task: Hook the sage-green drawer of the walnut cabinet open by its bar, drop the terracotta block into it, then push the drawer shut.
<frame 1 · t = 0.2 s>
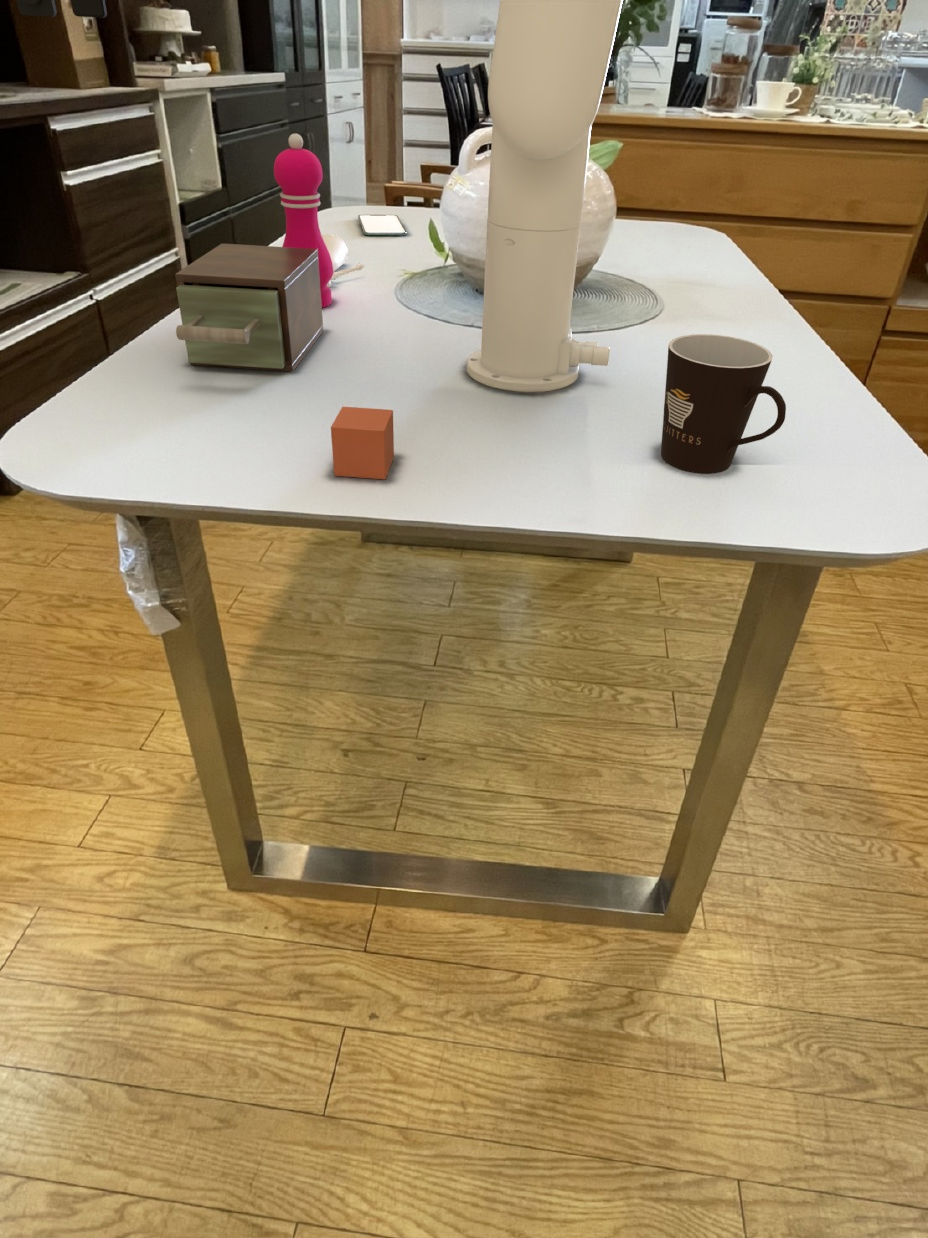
hand: (66, 16, 74), 31 cm above the table, tool pointing down, fingers open, 9 cm apart
drawer: (242, 318, 88), point 5 cm above the table, slide at 0.5 cm
cabinet: (260, 347, 95), on the table
pepper mill: (308, 304, 110), on the table
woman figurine: (326, 276, 122), on the table
smartphone: (381, 227, 151), on the table
coffee mug: (700, 467, 73), on the table
block: (364, 466, 70), on the table
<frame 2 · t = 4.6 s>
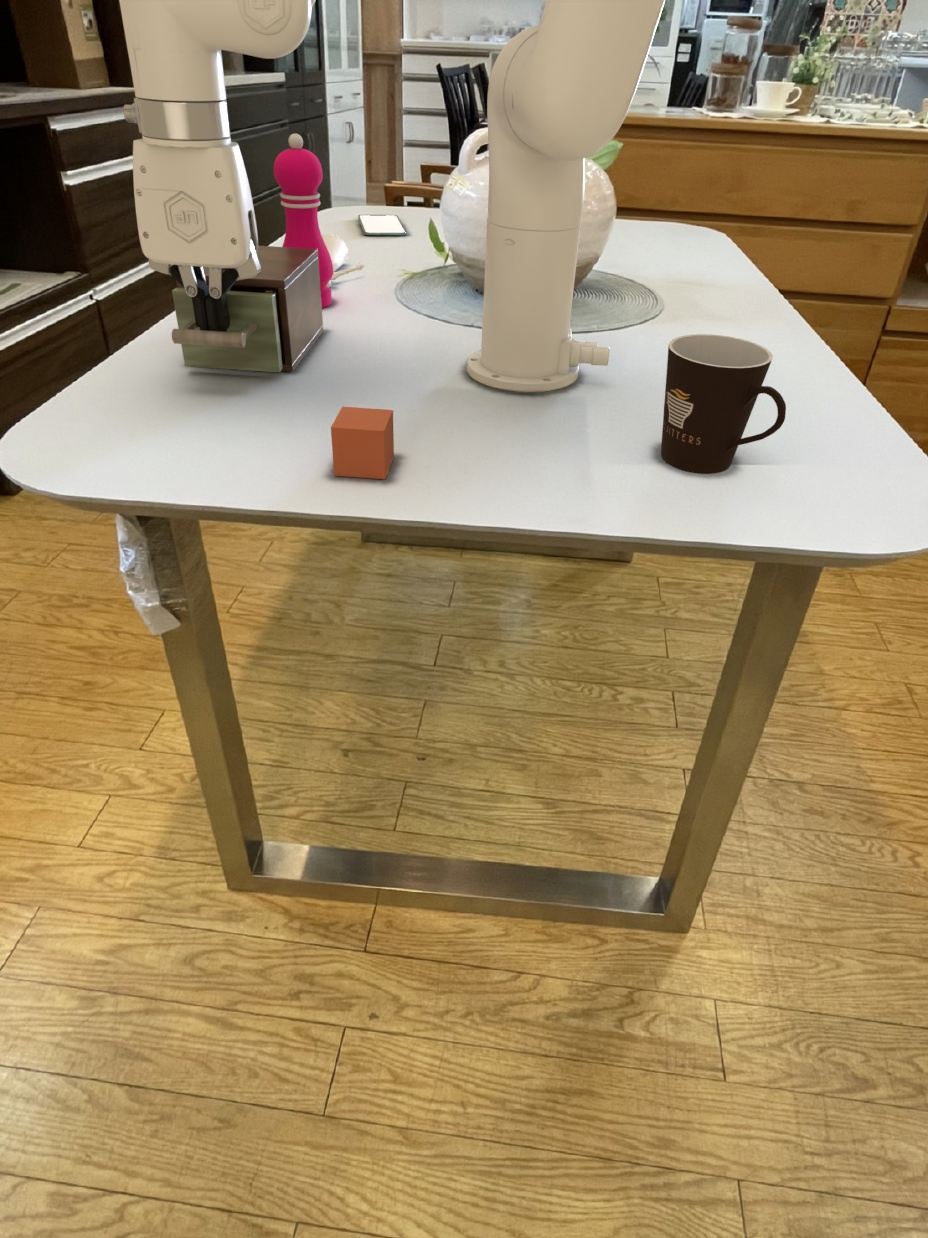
hand: (214, 334, 81), 5 cm above the table, tool pointing down, fingers closed
drawer: (238, 321, 87), point 5 cm above the table, slide at 1.6 cm
everything else where it was.
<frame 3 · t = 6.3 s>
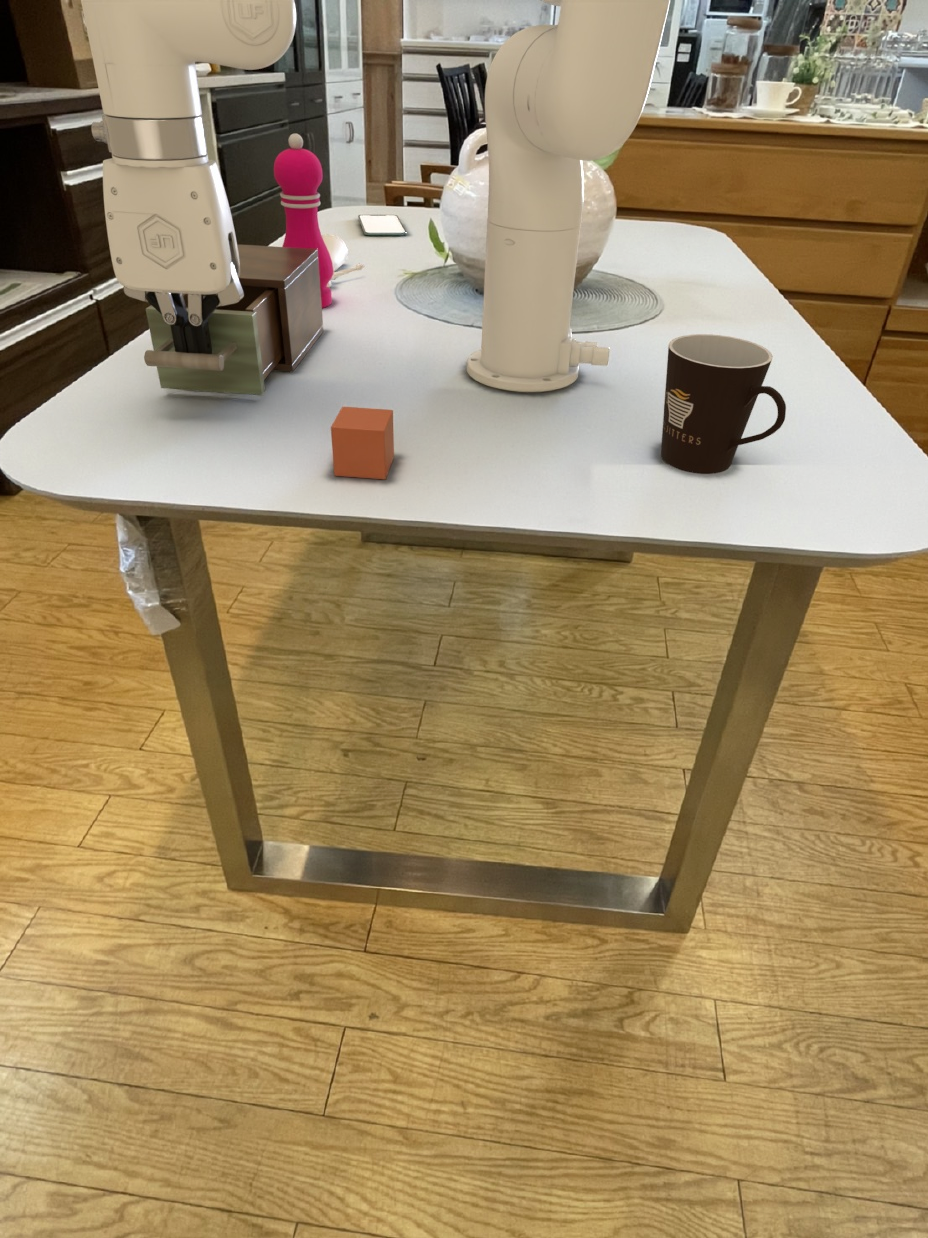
hand: (196, 363, 76), 5 cm above the table, tool pointing down, fingers closed
drawer: (218, 340, 82), point 5 cm above the table, slide at 8.2 cm
everything else where it was.
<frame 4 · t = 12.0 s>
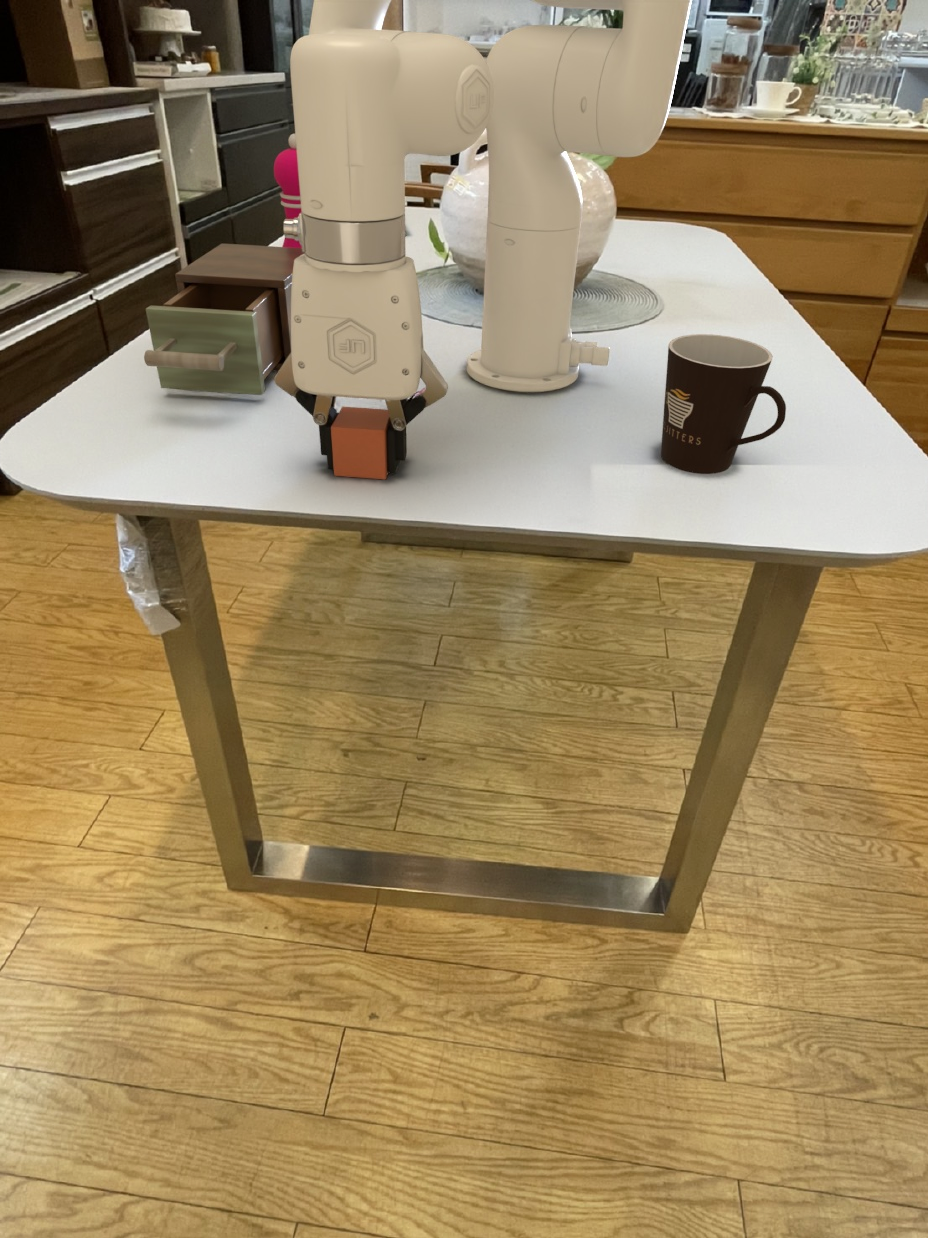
hand: (364, 462, 70), 0 cm above the table, tool pointing down, fingers closed on block, 4 cm apart
block: (364, 466, 70), on the table, touching gripper
everything else where it was.
when the fingers open (10 cm above the table, at t = 17.4 s): block drops 8 cm, resting on drawer.
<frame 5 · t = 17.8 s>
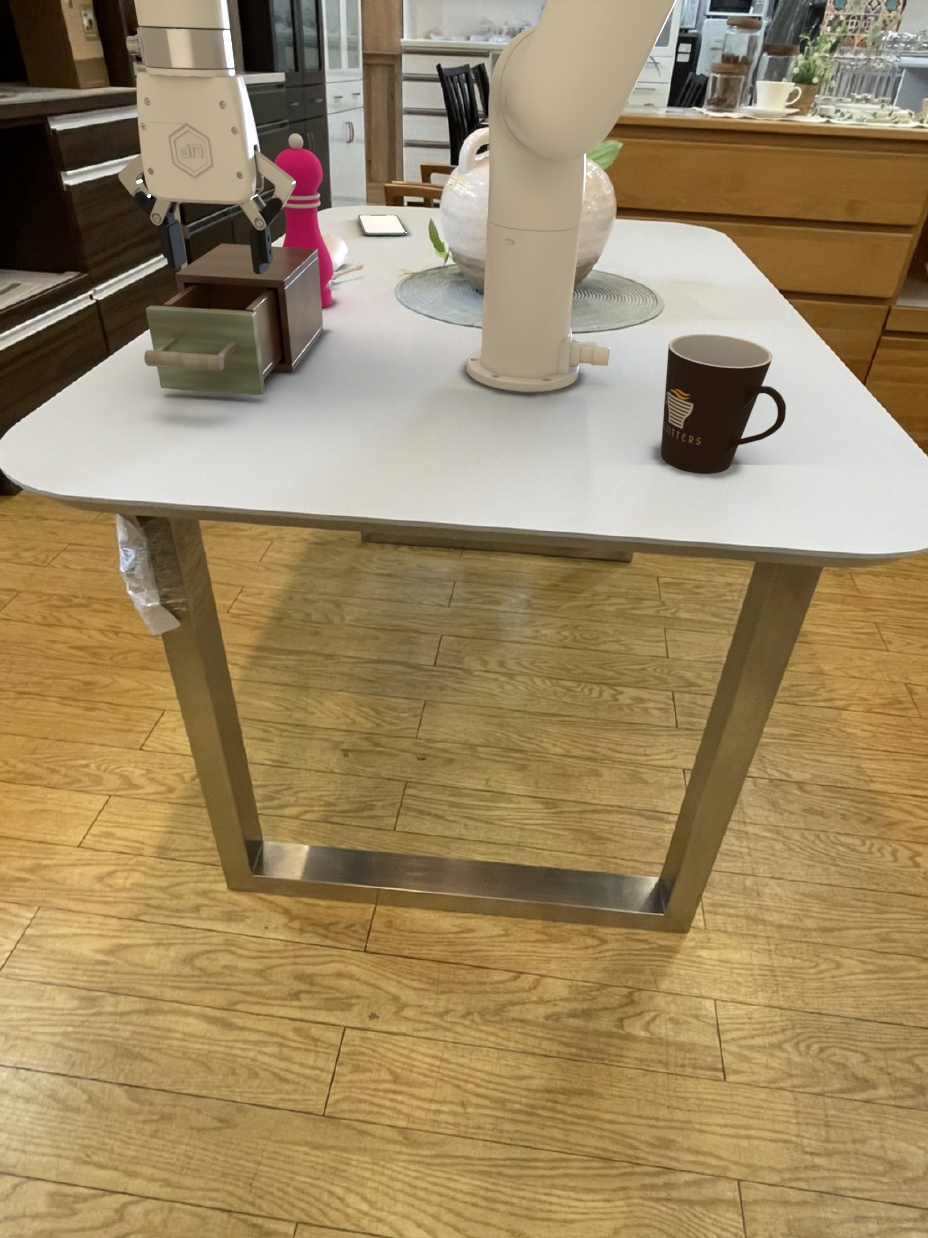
hand: (219, 267, 80), 11 cm above the table, tool pointing down, fingers open, 8 cm apart
drawer: (218, 340, 82), point 5 cm above the table, slide at 8.2 cm, touching block
block: (231, 358, 85), point 2 cm above the table, touching drawer
everything else where it was.
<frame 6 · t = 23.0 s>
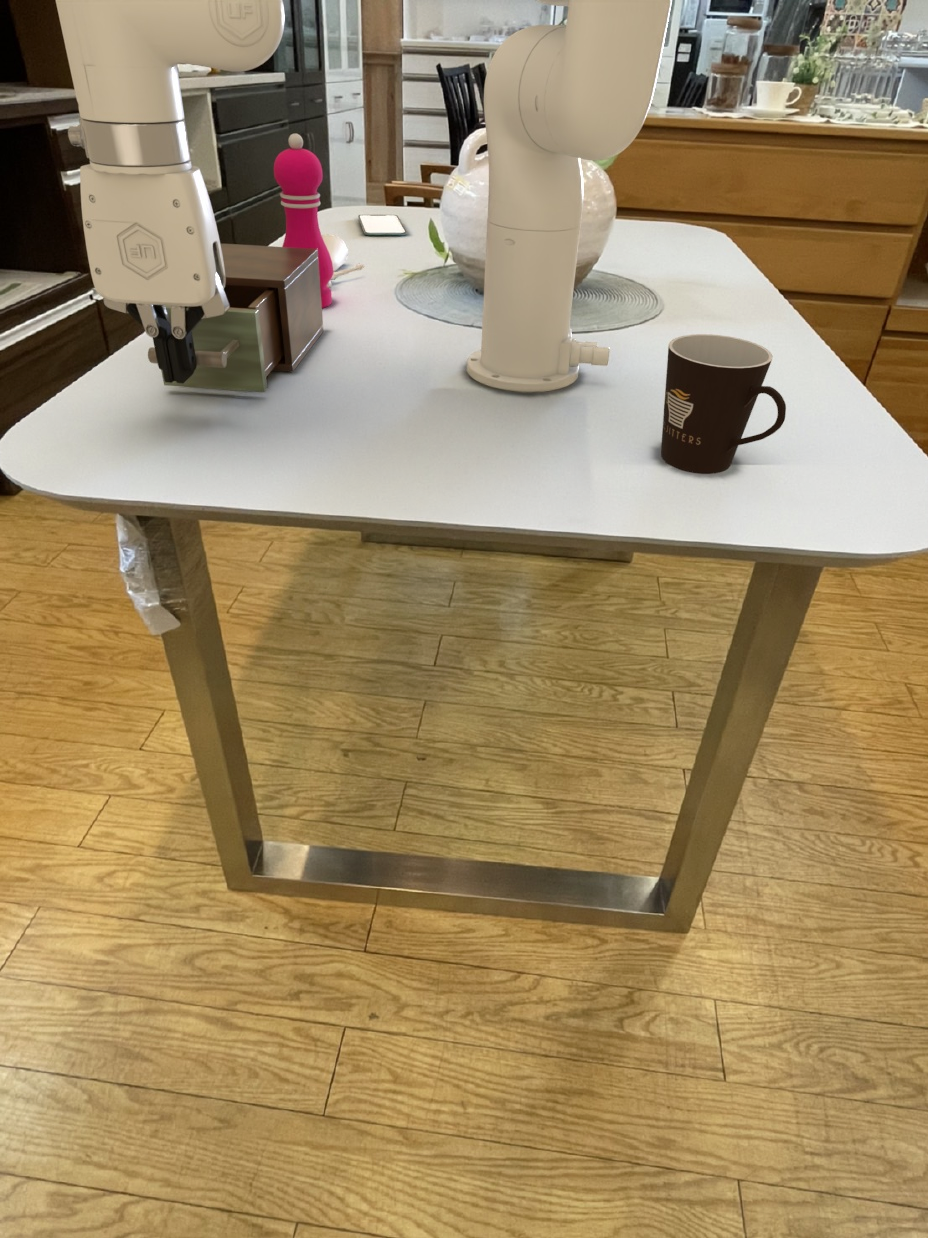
hand: (180, 377, 73), 5 cm above the table, tool pointing down, fingers closed
drawer: (221, 338, 82), point 5 cm above the table, slide at 7.4 cm, touching block, gripper
everything else where it was.
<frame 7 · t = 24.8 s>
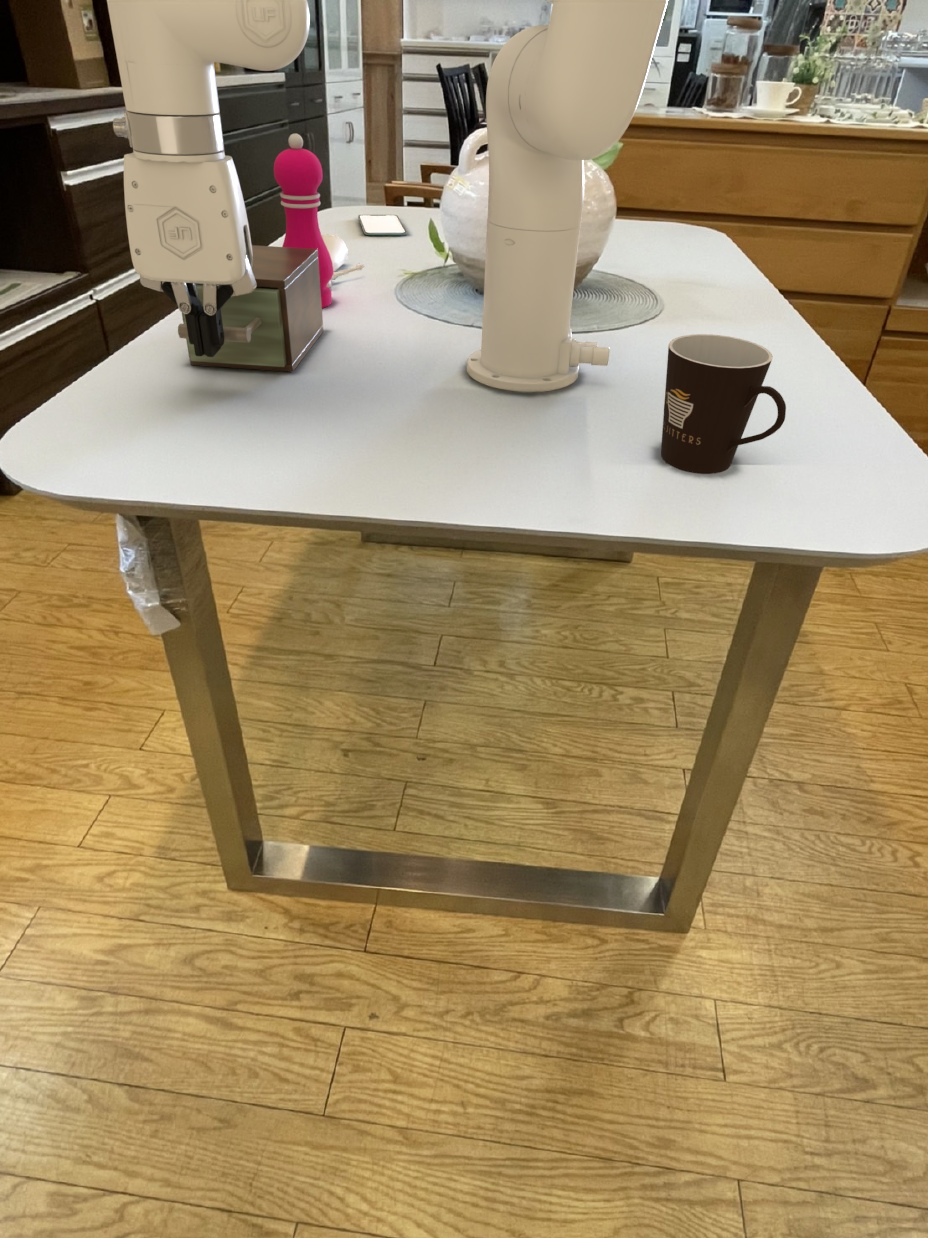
hand: (208, 351, 79), 5 cm above the table, tool pointing down, fingers closed
drawer: (243, 317, 88), point 5 cm above the table, slide at 0.0 cm, touching block, cabinet, gripper
block: (254, 335, 92), point 2 cm above the table, touching drawer
everything else where it was.
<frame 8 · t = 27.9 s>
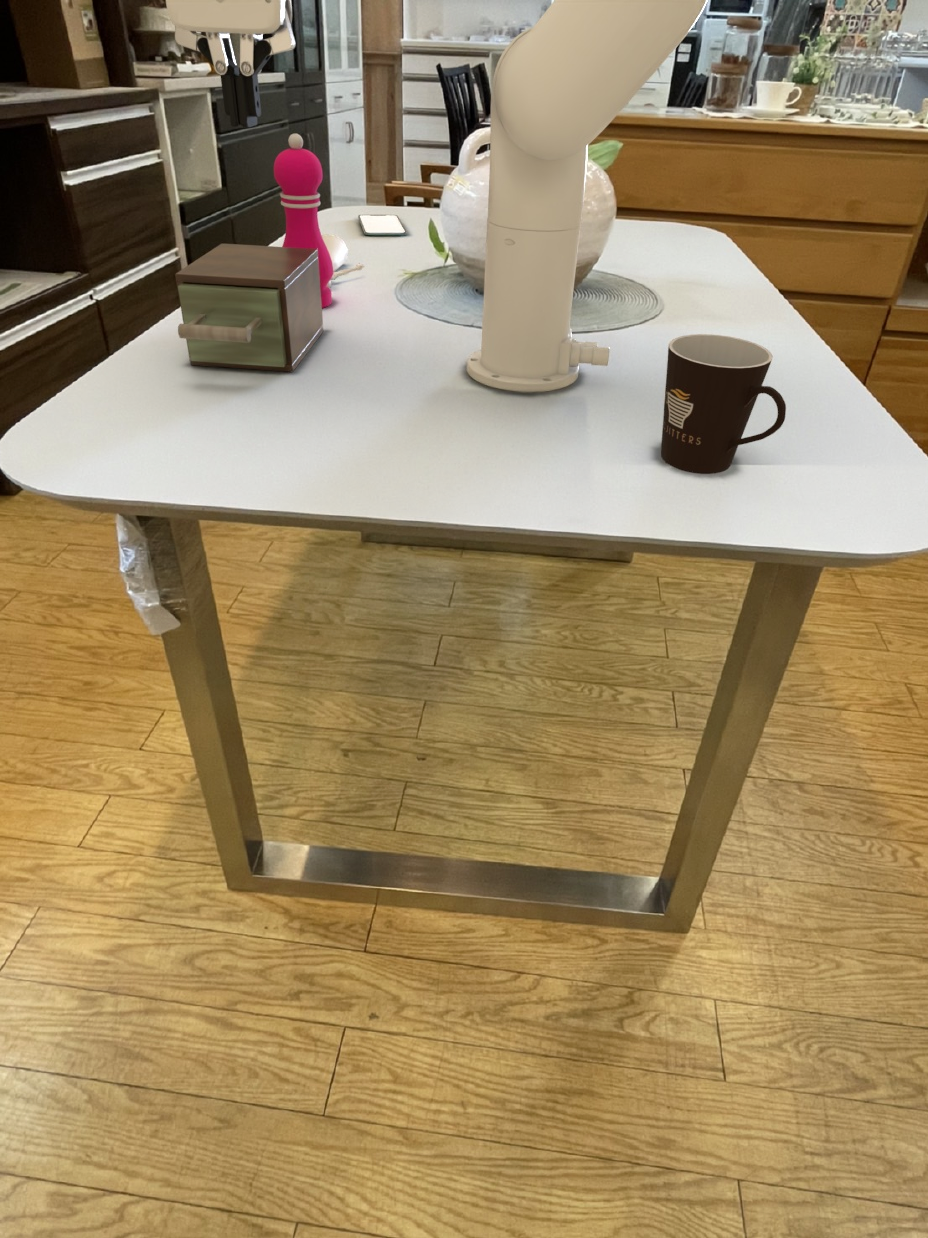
hand: (244, 125, 76), 23 cm above the table, tool pointing down, fingers closed
drawer: (243, 317, 88), point 5 cm above the table, slide at 0.0 cm, touching block
everything else where it was.
at the end: drawer pulled out 8.2 cm at the most during the clip, back to where it started at the end; block inside the target area in the cabinet (1.9 cm from its centre), point 2.0 cm above the cabinet's base; drawer slide at 0.0 cm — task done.
